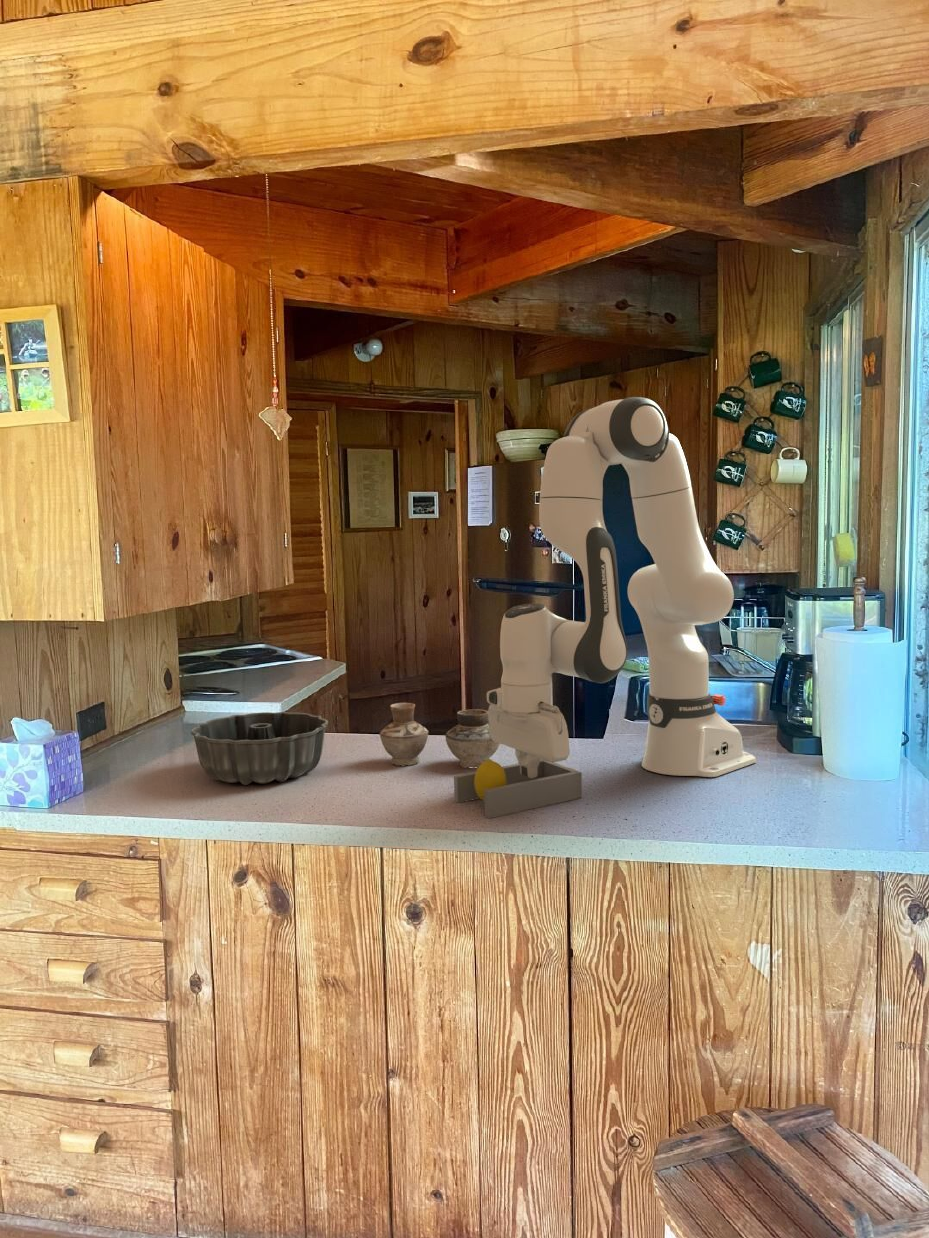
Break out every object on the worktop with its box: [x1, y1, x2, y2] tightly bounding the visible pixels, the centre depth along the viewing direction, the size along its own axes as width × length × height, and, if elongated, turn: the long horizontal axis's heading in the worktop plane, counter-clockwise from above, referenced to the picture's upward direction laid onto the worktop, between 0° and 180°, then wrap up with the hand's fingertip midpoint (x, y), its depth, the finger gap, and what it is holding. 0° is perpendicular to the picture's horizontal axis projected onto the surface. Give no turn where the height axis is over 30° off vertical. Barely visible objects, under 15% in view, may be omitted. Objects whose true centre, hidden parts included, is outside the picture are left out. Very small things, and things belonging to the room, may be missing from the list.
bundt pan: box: [190, 711, 329, 786], centre depth 182 cm, size 26×26×10 cm
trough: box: [453, 759, 583, 819], centre depth 160 cm, size 19×11×4 cm, turn 120°
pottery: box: [379, 702, 500, 768], centre depth 184 cm, size 11×25×12 cm, turn 77°
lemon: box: [474, 758, 507, 802], centre depth 157 cm, size 6×6×8 cm
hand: (528, 775), depth 161 cm, fingers closed
